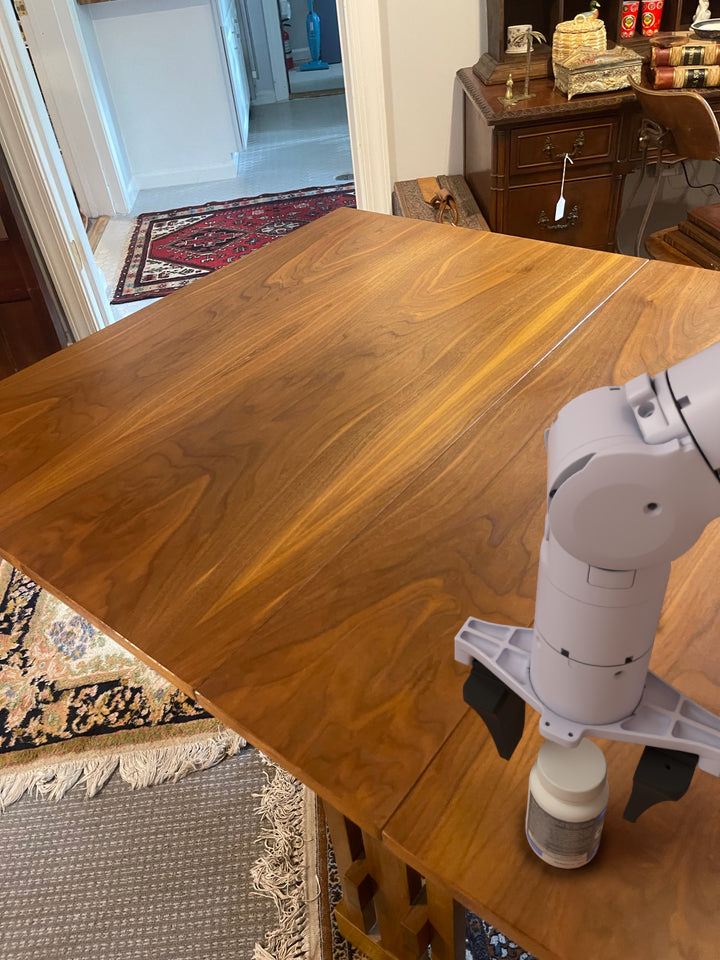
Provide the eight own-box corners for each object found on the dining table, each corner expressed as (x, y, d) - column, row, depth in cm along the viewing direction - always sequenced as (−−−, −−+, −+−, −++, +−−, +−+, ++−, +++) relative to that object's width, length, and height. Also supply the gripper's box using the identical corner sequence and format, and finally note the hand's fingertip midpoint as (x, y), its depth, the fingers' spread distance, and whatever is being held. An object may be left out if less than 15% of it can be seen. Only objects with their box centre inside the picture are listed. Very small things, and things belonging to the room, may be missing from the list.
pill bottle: (607, 870, 46) (624, 797, 41) (531, 871, 46) (539, 800, 41) (589, 798, 50) (603, 724, 45) (519, 800, 50) (525, 727, 45)
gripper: (425, 619, 37) (431, 771, 45) (734, 750, 30) (676, 902, 38) (487, 538, 42) (482, 689, 50) (768, 635, 34) (709, 792, 43)
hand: (569, 775), depth 44 cm, fingers open, 7 cm apart
